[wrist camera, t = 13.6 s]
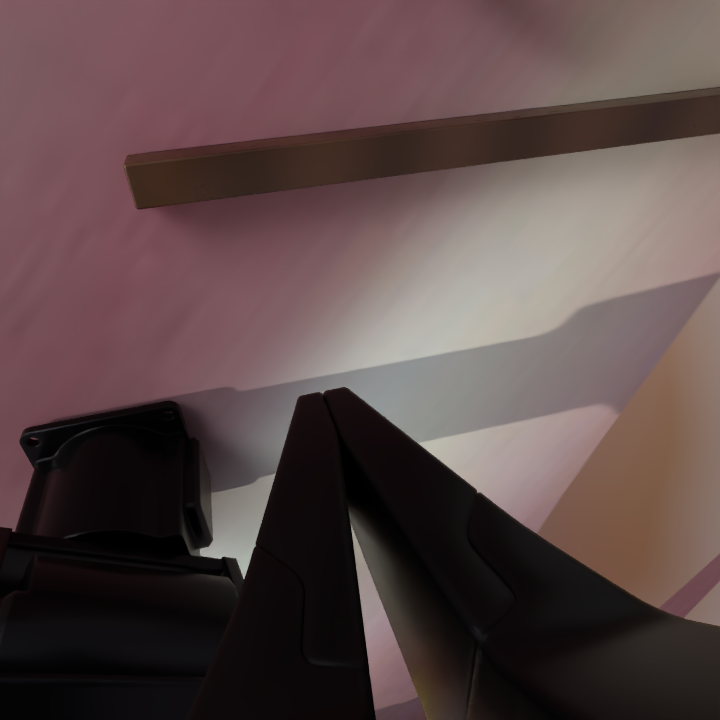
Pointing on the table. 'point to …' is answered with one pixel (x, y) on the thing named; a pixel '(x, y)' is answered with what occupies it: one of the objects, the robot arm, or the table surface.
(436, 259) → the table surface
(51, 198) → the table surface
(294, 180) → the brown wooden flat frame
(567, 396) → the table surface
